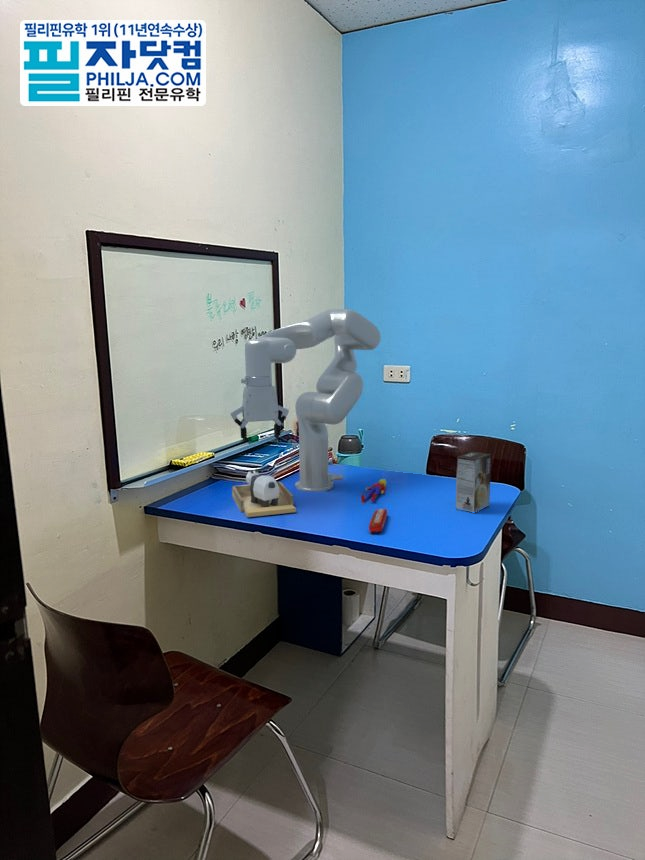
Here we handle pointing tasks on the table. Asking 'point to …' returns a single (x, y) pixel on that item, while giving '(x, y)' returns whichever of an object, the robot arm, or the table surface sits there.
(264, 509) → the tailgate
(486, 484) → the coffee box
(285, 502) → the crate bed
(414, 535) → the table surface
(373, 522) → the candy bar
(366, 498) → the character figure
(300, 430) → the robot arm
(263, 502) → the giant panda
